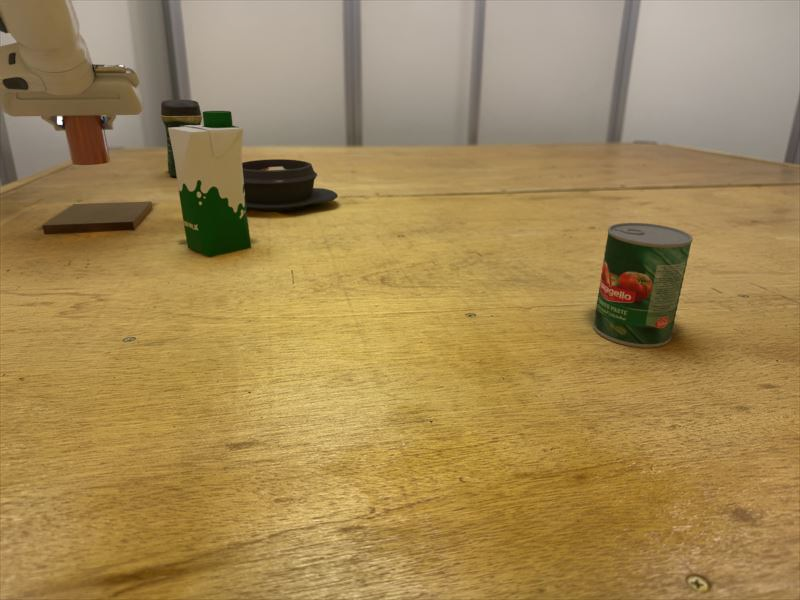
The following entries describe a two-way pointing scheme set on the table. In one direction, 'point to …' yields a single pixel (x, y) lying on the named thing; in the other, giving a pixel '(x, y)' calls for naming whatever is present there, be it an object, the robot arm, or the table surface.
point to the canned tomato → (641, 283)
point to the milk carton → (211, 184)
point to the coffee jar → (178, 121)
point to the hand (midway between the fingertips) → (84, 127)
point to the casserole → (281, 185)
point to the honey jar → (86, 139)
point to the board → (98, 217)
